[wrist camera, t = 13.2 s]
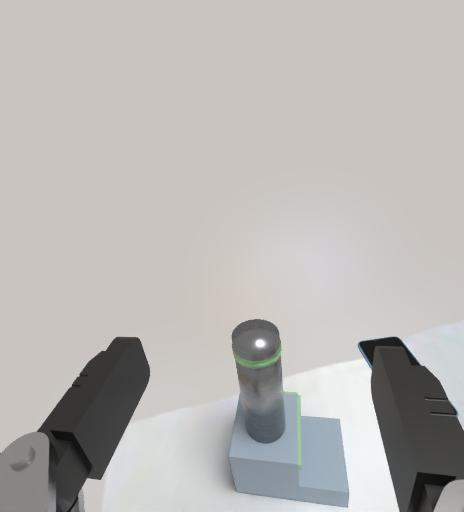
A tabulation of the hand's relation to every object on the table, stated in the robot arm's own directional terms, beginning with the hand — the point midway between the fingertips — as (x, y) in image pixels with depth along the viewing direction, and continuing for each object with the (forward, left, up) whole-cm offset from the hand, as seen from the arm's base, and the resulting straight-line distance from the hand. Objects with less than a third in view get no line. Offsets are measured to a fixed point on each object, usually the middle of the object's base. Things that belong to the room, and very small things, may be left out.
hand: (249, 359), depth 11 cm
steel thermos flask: (+2, -14, -25) cm, 29 cm away
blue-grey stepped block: (0, -14, -32) cm, 35 cm away
